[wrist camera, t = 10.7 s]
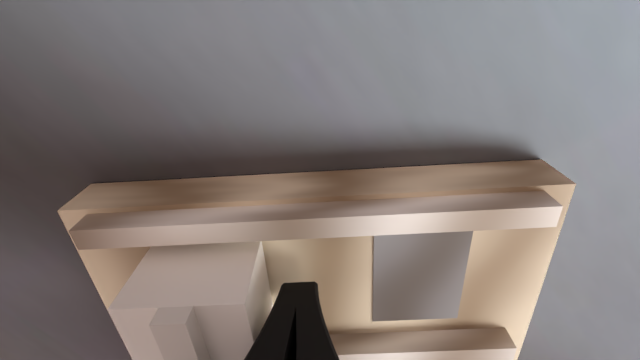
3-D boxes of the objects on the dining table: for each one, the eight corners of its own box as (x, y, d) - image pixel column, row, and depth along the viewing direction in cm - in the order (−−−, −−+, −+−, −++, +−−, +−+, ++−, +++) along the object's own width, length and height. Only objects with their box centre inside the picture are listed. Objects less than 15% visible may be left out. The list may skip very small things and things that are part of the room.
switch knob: (261, 238, 12) (240, 321, 9) (277, 331, 15) (265, 423, 11) (152, 243, 12) (94, 327, 9) (186, 335, 15) (149, 426, 12)
